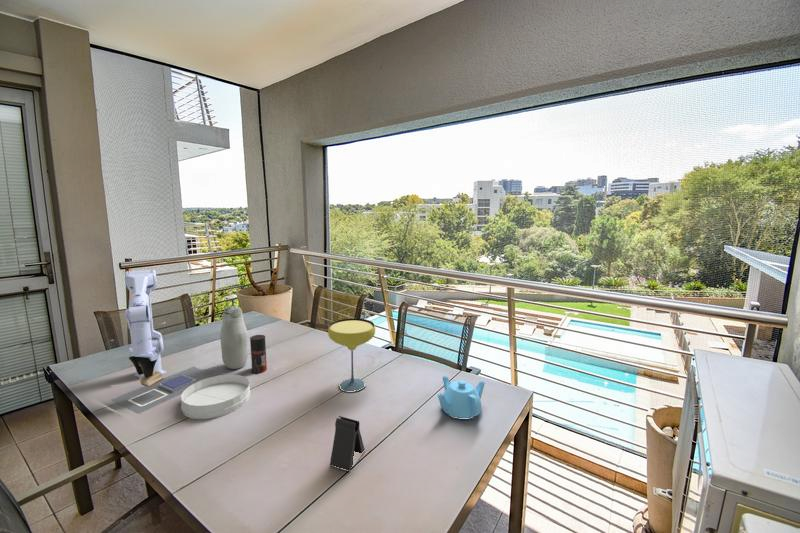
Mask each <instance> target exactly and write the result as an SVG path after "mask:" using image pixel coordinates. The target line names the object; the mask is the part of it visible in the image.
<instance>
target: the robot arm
mask: <svg viewBox="0 0 800 533" xmlns="http://www.w3.org/2000/svg"><path fill="white" fill-rule="evenodd" d="M124 280H125V285H126V288H127V290H128V291H129V292H132V294H131V295H129V299H128V308H126V310H125V319H126V322H127V326H128V330H129V333H130V344H131V347H129V348H128V352H129V354H131V356H129V357H128V360H129V361H131V363H132V364H133V366H134V368H135V370H136V371H135V372H136V373H134V375H133V376H136V377H138V378H140V377H142V376H145V378H148V377H150V376H152V375H153V371H154V370H155V371H158V372H161V373H162V375H163V374H165V373H168V371H166V370H164V369H162V366H163V365H162V356H161V352H163V351H164V339H163V335H162V333H161V332H159V331H158V330H155V329H154V320H153V312H152V311H153V310H152V298H151V295H152V292H153V291H154V290H157V288H158V284H157V282H158V280H157V272H156V270H155V269H145V270H131V271H129V270H127V271H126V272H124ZM138 363H139V364H140V365H141V366H139V364H138ZM141 367H142V368H141ZM142 369H143V370H142Z"/></svg>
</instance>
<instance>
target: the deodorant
mask: <svg viewBox="0 0 800 533" xmlns="http://www.w3.org/2000/svg"><path fill="white" fill-rule="evenodd" d="M249 341H250V342H249V344H250V356H251V357H250V358H251V373H253V374H263V373H264V372H266V371H268V367H267V366H268V365H267V363H268V362H267V349H266V348H267V346H266V335H264V334H255V335H252V336H250V337H249Z"/></svg>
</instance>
